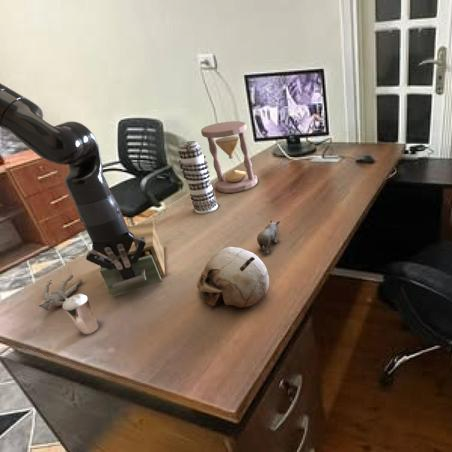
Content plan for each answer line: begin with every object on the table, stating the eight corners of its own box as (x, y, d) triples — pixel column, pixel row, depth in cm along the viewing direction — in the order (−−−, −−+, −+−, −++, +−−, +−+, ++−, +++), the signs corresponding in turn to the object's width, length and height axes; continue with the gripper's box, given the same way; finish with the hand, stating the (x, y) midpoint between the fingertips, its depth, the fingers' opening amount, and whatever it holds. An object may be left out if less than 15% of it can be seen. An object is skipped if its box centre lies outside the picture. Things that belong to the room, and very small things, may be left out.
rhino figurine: (286, 231, 111) (283, 214, 108) (269, 255, 100) (265, 237, 97) (274, 230, 112) (271, 214, 109) (256, 254, 101) (252, 236, 98)
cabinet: (164, 275, 95) (152, 245, 91) (112, 291, 91) (97, 260, 86) (163, 248, 108) (153, 221, 103) (117, 261, 104) (104, 232, 99)
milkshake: (90, 319, 82) (70, 286, 77) (106, 323, 80) (88, 289, 75) (71, 333, 78) (50, 299, 74) (88, 338, 77) (68, 303, 72)
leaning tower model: (193, 206, 135) (174, 142, 123) (218, 201, 137) (201, 137, 125) (193, 215, 127) (172, 148, 115) (219, 210, 129) (201, 144, 117)
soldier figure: (93, 285, 96) (69, 302, 84) (83, 299, 96) (57, 318, 84) (65, 270, 94) (37, 284, 82) (55, 284, 94) (25, 301, 82)
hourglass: (264, 177, 156) (253, 120, 144) (246, 193, 141) (232, 131, 129) (229, 177, 160) (215, 121, 148) (208, 192, 146) (191, 132, 133)
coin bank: (202, 281, 91) (193, 237, 84) (269, 275, 94) (266, 233, 87) (192, 325, 78) (181, 278, 71) (271, 317, 81) (267, 271, 74)
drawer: (162, 291, 88) (151, 265, 84) (110, 307, 84) (96, 281, 80) (160, 255, 103) (151, 231, 99) (117, 267, 99) (106, 243, 96)
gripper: (135, 202, 82) (159, 262, 91) (70, 217, 78) (102, 279, 86) (133, 214, 76) (160, 278, 85) (63, 231, 72) (98, 296, 80)
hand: (130, 278), depth 86 cm, fingers closed
